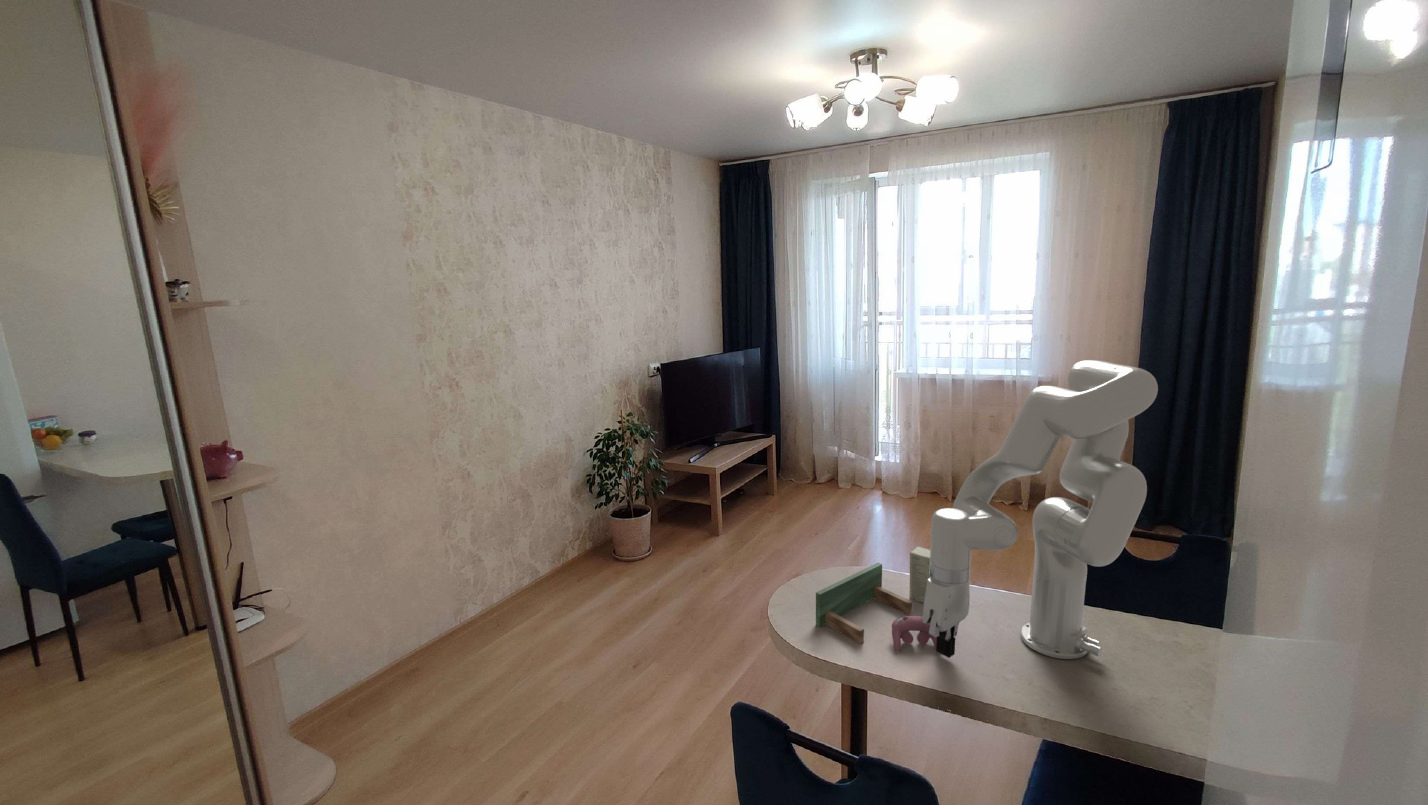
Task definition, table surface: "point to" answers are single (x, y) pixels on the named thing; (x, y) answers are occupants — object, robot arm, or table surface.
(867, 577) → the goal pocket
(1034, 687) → the table surface
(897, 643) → the video game controller
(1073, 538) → the robot arm
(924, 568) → the skincare box
